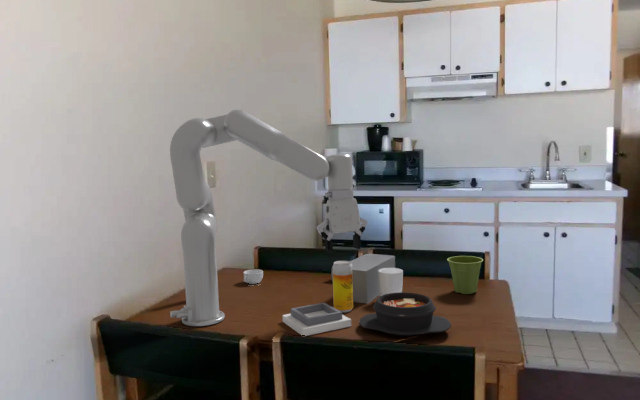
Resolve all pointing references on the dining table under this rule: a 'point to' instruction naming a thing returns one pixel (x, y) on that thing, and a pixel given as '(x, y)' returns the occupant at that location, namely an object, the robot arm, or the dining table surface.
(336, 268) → the beer can
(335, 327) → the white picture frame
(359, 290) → the grey rectangular block
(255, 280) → the teacup
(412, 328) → the casserole
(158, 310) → the dining table surface
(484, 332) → the dining table surface
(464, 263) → the plant pot
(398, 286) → the white cup
